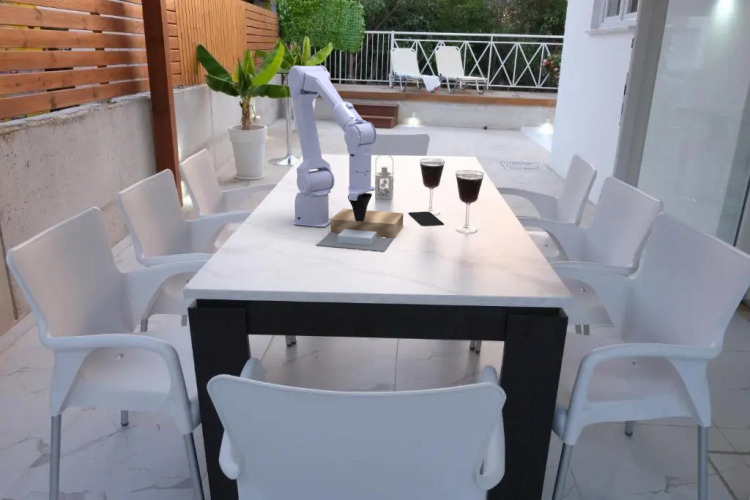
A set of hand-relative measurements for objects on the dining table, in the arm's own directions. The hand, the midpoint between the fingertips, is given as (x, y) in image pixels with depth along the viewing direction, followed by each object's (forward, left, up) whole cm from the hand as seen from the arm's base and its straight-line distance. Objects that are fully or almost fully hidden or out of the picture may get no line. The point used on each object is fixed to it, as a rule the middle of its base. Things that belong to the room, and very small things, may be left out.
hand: (359, 220), depth 158 cm
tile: (0, -3, -3) cm, 4 cm away
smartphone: (+14, +25, -6) cm, 29 cm away
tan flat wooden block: (0, +9, -5) cm, 10 cm away
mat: (0, -4, -5) cm, 6 cm away
